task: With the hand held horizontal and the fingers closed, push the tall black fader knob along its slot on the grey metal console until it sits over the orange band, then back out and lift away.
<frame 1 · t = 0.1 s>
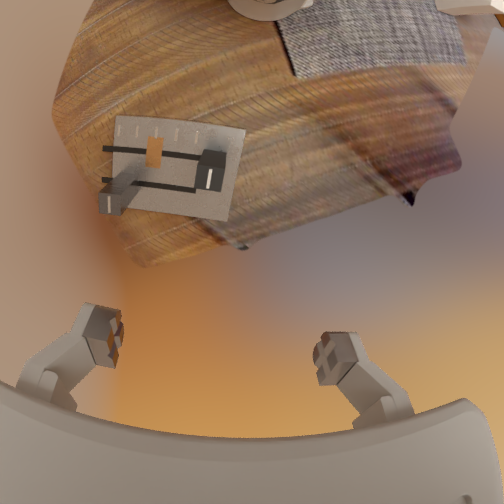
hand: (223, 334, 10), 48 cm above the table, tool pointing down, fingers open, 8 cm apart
coffee package: (497, 9, 24), on the table
milk: (442, 3, 30), on the table
console: (173, 165, 53), on the table
fader knob: (211, 168, 46), point 8 cm above the table, slide at 0.0 cm
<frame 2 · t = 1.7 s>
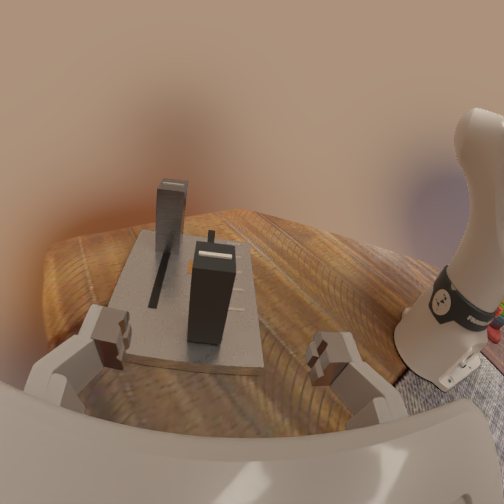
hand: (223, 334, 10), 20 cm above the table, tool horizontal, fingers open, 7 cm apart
stacking bear: (485, 325, 47), on the table
console: (185, 293, 40), on the table
fader knob: (209, 296, 29), point 8 cm above the table, slide at 0.0 cm
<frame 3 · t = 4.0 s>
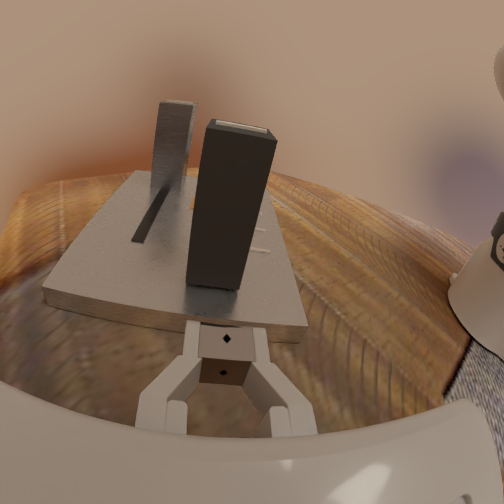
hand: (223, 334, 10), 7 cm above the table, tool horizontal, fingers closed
console: (186, 235, 29), on the table
fader knob: (225, 204, 19), point 8 cm above the table, slide at 0.0 cm
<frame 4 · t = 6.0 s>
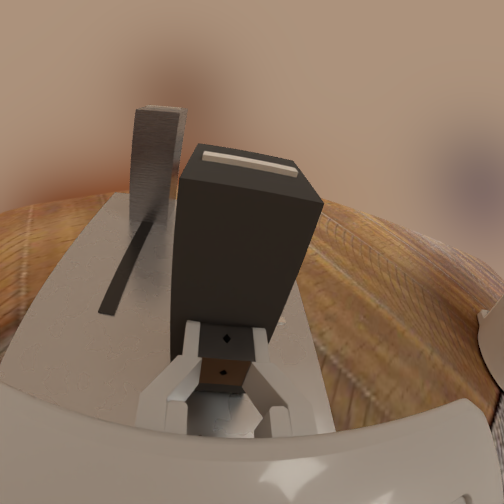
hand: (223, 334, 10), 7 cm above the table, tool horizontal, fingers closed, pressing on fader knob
console: (174, 289, 22), on the table
fader knob: (223, 287, 12), point 8 cm above the table, slide at 0.2 cm, touching gripper
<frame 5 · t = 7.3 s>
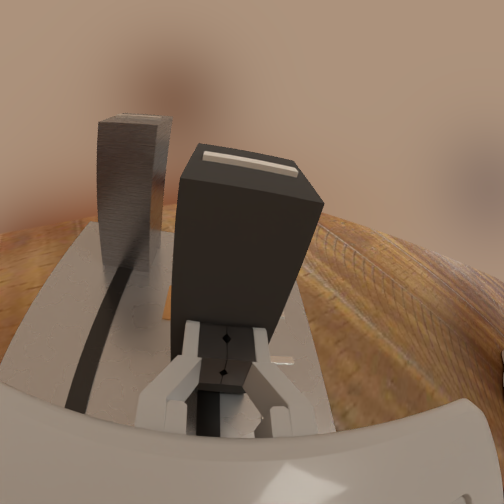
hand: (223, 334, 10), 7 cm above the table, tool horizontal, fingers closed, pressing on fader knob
console: (160, 366, 16), on the table
fader knob: (223, 287, 12), point 8 cm above the table, slide at 7.6 cm, touching gripper
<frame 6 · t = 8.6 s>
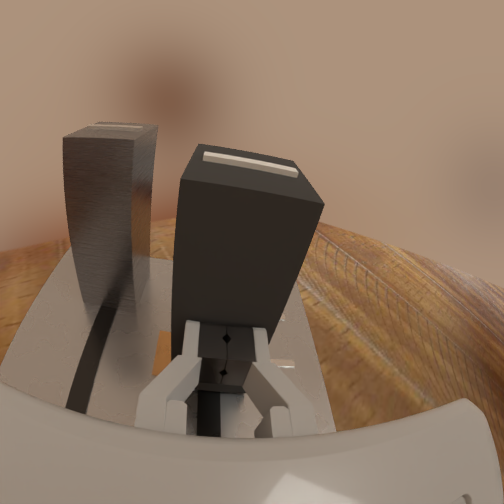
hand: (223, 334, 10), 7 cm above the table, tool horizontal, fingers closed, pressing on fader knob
console: (153, 425, 12), on the table
fader knob: (224, 287, 12), point 8 cm above the table, slide at 11.9 cm, touching gripper
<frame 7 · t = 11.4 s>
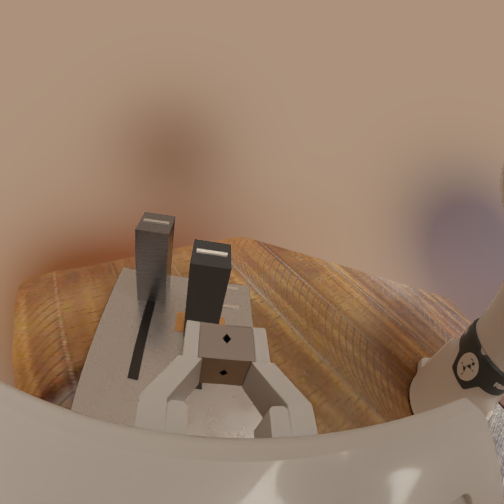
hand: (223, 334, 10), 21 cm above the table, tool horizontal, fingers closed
console: (173, 355, 32), on the table
fader knob: (205, 292, 31), point 8 cm above the table, slide at 11.9 cm
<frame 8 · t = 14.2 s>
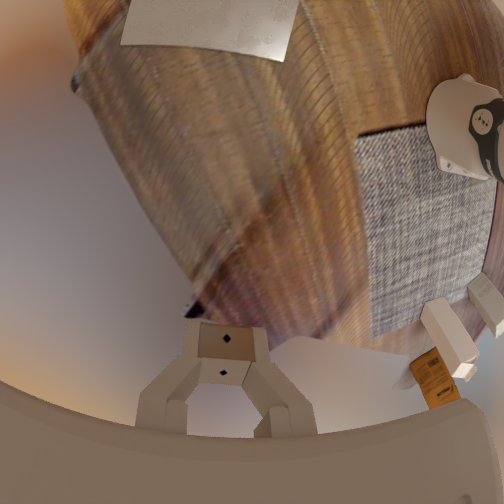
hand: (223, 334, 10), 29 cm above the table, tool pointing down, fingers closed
skincare box: (474, 285, 55), on the table
coffee package: (425, 357, 72), on the table
milk: (431, 306, 57), on the table
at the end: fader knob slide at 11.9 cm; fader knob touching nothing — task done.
